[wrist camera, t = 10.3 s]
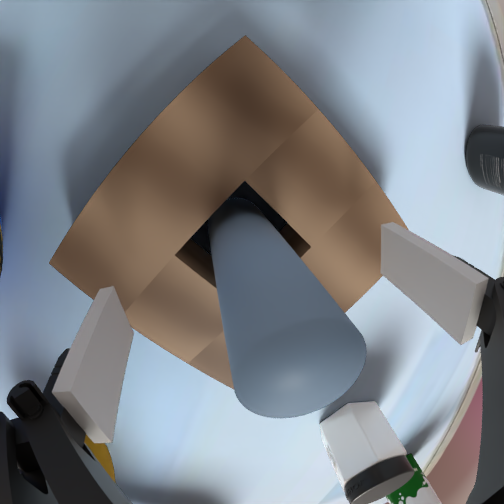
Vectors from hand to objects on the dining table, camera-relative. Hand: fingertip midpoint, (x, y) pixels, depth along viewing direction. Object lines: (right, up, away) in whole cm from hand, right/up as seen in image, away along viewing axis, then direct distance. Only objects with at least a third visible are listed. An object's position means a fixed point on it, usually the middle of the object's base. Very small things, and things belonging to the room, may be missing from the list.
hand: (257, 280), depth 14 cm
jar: (+12, -21, +20) cm, 32 cm away
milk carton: (+30, -45, +33) cm, 63 cm away
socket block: (-2, +3, +8) cm, 9 cm away
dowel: (-1, +3, +8) cm, 9 cm away
